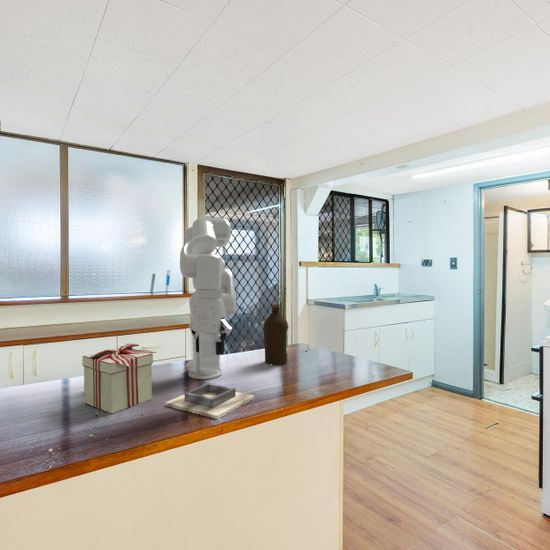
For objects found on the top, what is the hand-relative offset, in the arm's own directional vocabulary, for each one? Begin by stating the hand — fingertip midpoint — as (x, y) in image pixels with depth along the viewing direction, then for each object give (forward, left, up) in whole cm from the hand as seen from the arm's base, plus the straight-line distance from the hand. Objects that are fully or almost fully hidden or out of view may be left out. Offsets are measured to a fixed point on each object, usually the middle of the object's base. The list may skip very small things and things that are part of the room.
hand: (210, 352), depth 117 cm
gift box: (-24, -13, -16) cm, 32 cm away
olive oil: (-5, +49, -16) cm, 52 cm away
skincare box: (0, 0, -5) cm, 5 cm away
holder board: (0, 0, -16) cm, 16 cm away
